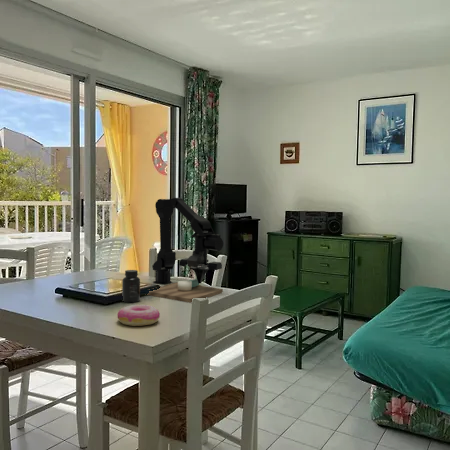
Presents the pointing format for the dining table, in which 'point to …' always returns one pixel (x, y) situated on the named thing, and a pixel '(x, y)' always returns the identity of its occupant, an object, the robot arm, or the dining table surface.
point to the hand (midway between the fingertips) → (199, 283)
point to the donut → (138, 315)
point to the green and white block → (187, 285)
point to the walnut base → (184, 292)
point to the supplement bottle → (131, 286)
